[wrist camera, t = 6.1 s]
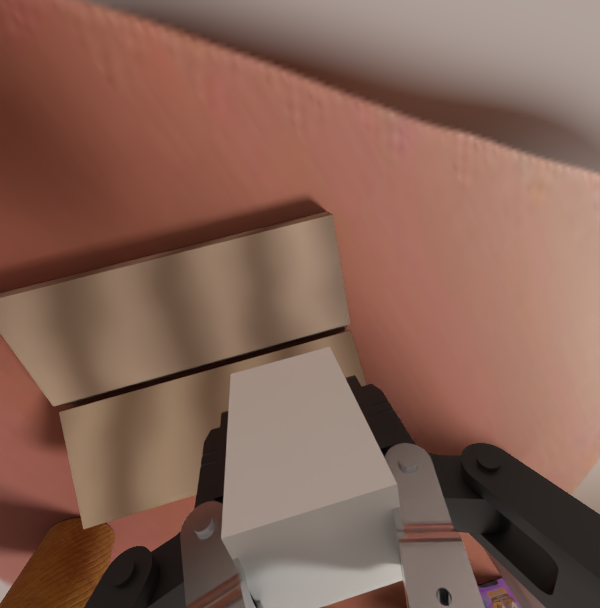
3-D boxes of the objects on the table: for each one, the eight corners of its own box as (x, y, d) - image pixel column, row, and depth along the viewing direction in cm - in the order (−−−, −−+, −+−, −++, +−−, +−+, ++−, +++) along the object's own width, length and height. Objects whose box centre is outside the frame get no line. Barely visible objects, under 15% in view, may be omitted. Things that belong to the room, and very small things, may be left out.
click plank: (347, 330, 28) (351, 330, 27) (376, 431, 27) (381, 437, 26) (72, 407, 26) (59, 412, 25) (95, 517, 26) (83, 529, 24)
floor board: (326, 211, 24) (332, 214, 22) (345, 324, 28) (351, 332, 26) (-5, 294, 22) (-22, 303, 21) (69, 401, 26) (59, 415, 25)
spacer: (329, 346, 12) (397, 484, 7) (344, 420, 14) (408, 578, 9) (230, 374, 12) (221, 538, 7) (257, 446, 14) (267, 624, 8)
